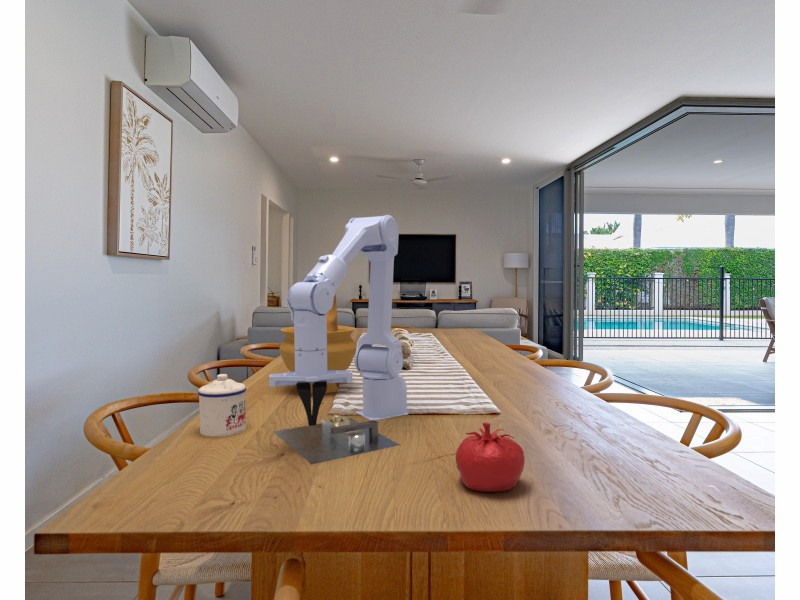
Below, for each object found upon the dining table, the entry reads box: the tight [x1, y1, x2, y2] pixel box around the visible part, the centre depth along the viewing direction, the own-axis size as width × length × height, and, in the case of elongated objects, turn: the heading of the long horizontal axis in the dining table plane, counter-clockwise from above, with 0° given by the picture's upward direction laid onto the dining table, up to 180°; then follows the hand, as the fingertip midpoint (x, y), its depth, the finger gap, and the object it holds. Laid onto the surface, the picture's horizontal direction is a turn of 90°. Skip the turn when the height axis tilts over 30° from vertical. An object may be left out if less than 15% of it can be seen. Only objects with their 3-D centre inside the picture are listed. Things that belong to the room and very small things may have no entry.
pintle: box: [332, 413, 342, 423], centre depth 93 cm, size 2×2×4 cm
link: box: [321, 415, 365, 452], centre depth 89 cm, size 13×4×3 cm, turn 28°
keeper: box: [331, 419, 379, 443], centre depth 86 cm, size 9×1×4 cm, turn 122°
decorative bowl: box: [279, 292, 358, 395], centre depth 133 cm, size 21×21×30 cm
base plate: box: [273, 418, 401, 465], centre depth 91 cm, size 17×20×1 cm
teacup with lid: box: [197, 373, 247, 438], centre depth 97 cm, size 12×9×12 cm
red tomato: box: [455, 421, 526, 493], centre depth 71 cm, size 10×10×9 cm
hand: (312, 423), depth 87 cm, fingers closed
